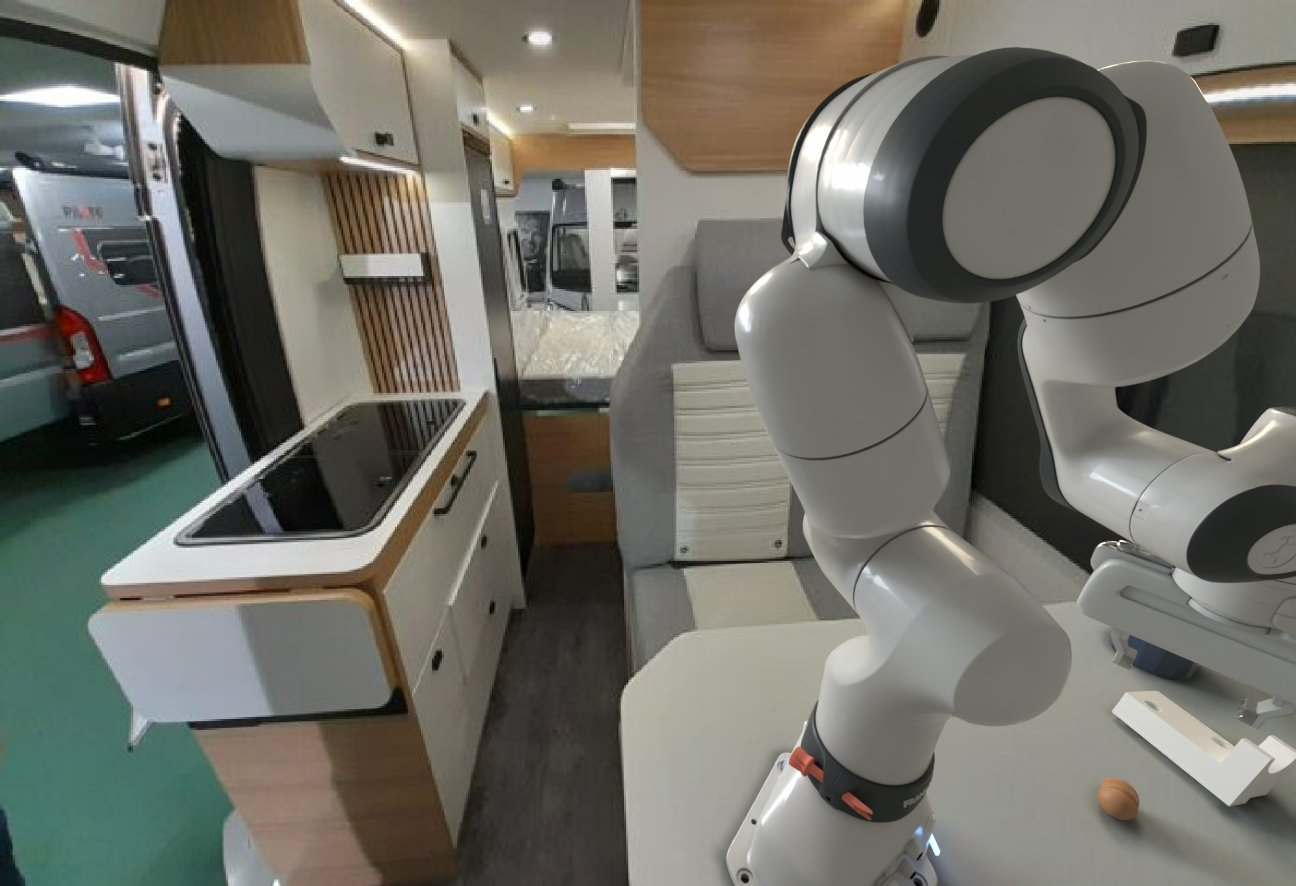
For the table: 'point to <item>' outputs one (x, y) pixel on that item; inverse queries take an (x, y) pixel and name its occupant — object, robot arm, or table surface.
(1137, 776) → the table surface
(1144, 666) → the pot
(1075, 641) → the table surface
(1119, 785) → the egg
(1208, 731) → the bracket
